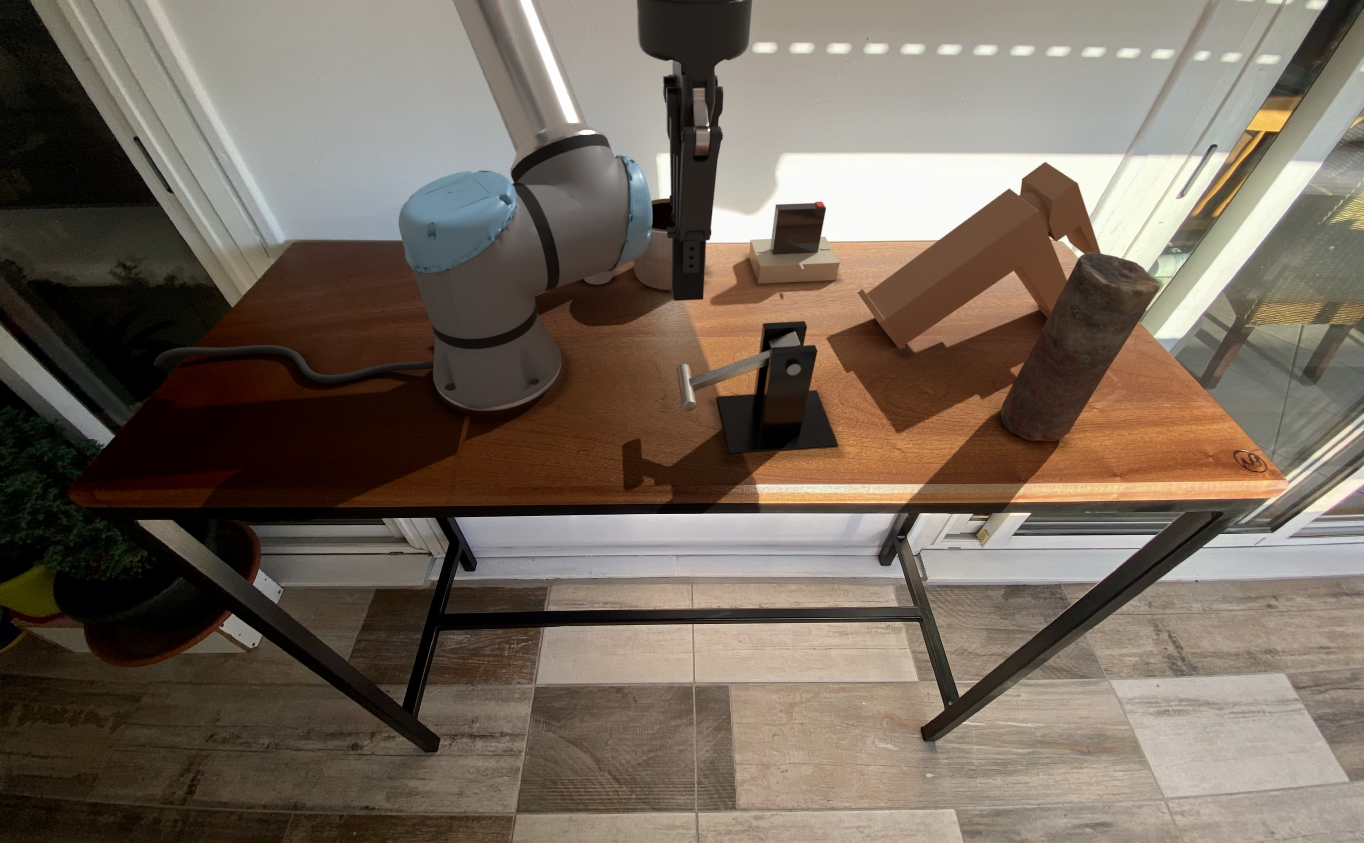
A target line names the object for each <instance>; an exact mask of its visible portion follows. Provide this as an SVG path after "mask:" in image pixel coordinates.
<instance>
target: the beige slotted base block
mask: <svg viewBox="0 0 1364 843" xmlns="http://www.w3.org/2000/svg"><path fill="white" fill-rule="evenodd" d="M771 239H772V238H762V239H761V238H757V239H750V240H749V250H748V258H749V261H750V265H751V267H752V270H753V273H754V276H755V278H756V281H757V283H758V284H759V285H760V284H777V283H778V284H784V283H785V284H786V283H804V282H823V281H837V277H838V272H839V267H840V261H839V258H838V257H837V255H836V253H835V251H834V250H833V249H832V246H831V244H830V243H829V241H828V239H827V237H826V236H821V238H820V244H819V249H818V252H814V253H791V254H772V251H771V249H770V247H771Z"/></svg>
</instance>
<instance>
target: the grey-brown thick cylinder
mask: <svg viewBox="0 0 1364 843" xmlns="http://www.w3.org/2000/svg"><path fill="white" fill-rule="evenodd" d="M1160 289H1161V287H1160V284H1159V282H1158V281H1157V279H1156V278H1154V277H1152V276H1151V274H1150V272H1148V271H1147V270H1146V269H1145V268H1144V267H1143V266H1142V265H1140V264H1139V263H1138V262H1136V261H1133V260H1130V259H1125V258H1122V257H1118V256H1114V255H1111V254H1105V253H1102V252H1101V253H1098V252H1088V253H1085V254H1084V253H1083V254H1081V255H1080V256H1079V257H1078V259H1077V261H1076V262H1075V265H1074V267H1073V269H1072V271H1071V273H1070V275H1069V276H1068V278H1067V283H1066V285H1065V287H1064V289H1063V290H1062V292H1061V294H1060V296H1059V297H1058V300H1057V302H1056V304H1055V306H1054V308H1053V310H1052V312H1051V313H1050V315H1049V317H1048V318H1047V319H1046V321H1045V323H1044V325H1043V327H1042V329H1041V331H1040V333H1039V335H1038V336H1037V338H1036V340H1035V342H1034V344H1033V345H1032V348H1031V349H1030V351H1029V353H1028V355H1027V357H1026V359H1025V361H1024V362H1023V364H1022V366H1021V368H1020V370H1019V372H1018V373H1017V375H1016V377H1015V379H1014V381H1013V383H1012V385H1011V386H1010V389H1009V390H1008V392H1007V395H1006V397H1005V398H1004V401H1003V402H1002V405H1001V409H1000V411H1001V412H1000V413H1001V414H1000V415H1001V423H1002V425H1003V427H1004V428H1006V430H1008V431H1009V432H1010V433H1012V434H1014V435H1017V436H1019V437H1020V438H1022V439H1024V440H1026V441H1033V442H1034V441H1035V442H1036V441H1040V442H1041V441H1042V442H1047V441H1048V442H1057V441H1059V440H1062V439H1063V438H1065V437H1066V436H1067V435H1068V434H1069V433H1070V431H1072V428H1073V427H1074V426H1075V424H1076V422H1077V420H1078V419H1079V417H1080V416H1081V414H1082V412H1083V411H1084V409H1085V408H1086V406H1087V405H1088V403H1089V401H1090V399H1091V398H1092V396H1093V395H1094V393H1095V391H1096V390H1097V388H1098V387H1099V385H1100V383H1101V381H1102V380H1103V378H1104V376H1105V375H1106V373H1107V372H1108V370H1109V369H1110V367H1111V366H1112V364H1113V362H1114V361H1115V359H1116V358H1117V356H1118V355H1119V353H1120V352H1121V350H1122V348H1123V347H1124V346H1125V344H1126V343H1127V340H1129V337H1130V336H1131V334H1132V333H1133V331H1134V329H1135V328H1136V326H1137V325H1138V323H1139V322H1140V320H1141V319H1142V317H1143V316H1144V314H1145V313H1146V310H1147V309H1148V308H1149V306H1150V305H1151V303H1152V301H1153V300H1154V298H1155V297H1156V294H1157V293H1158V292H1159V290H1160Z"/></svg>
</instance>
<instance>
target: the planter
mask: <svg viewBox="0 0 1364 843" xmlns="http://www.w3.org/2000/svg"><path fill="white" fill-rule="evenodd" d="M651 203H652V217H653V220H652V228H651V237H650V240H649V243H648V246H647V248H646V250H645V251H644V253H643V254H642V255H641V256H640V257H639V258H638V259H636V260H634V261H633V270H634V274H635V277H636V278H637V280H638V281H639V282H640V283H642V284H643V285H645V286H647V287H649V288H652V289H655V290H659V291H664V292H665V291H666V292H667V291H668V292H669V291H671V292H672V238H667V227H672V226H676V223H674V222H673V219H672V212H673V206H672V205H671V203H670V197H669V198H668V197H667V198H658V199H651ZM706 265H707V247H706V248H705V270H704V276H705V274H706V269H707V268H706V267H707V266H706Z"/></svg>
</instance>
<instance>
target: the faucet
mask: <svg viewBox="0 0 1364 843" xmlns="http://www.w3.org/2000/svg"><path fill="white" fill-rule="evenodd" d="M1019 192H1020V193H1019V194H1018V193H1016V192H1015V191H1014V190H1012V189H1011V188H1007V189H1006V190H1005V191H1004V192H1002V193H1001V194H999V195H998V196H996V197H995V198H994V199H993V200H991V201H990V202H989V203H987V204H986V205H985V206H983V207H982V208H980V209H979V210H978V211H976V212H975V213H974V214H972V215H971V216H970V217H967V218H966V219H965V220H964V221H963V222H961V223H960V224H959V225H957V226H956V227H955V228H953V229H951V231H949V232H948V233H947V234H945V235H944V236H943V237H941V238H940V239H939V240H937V241H936V242H934V243H933V244H932V245H930V246H929V247H927V248H926V249H924V250H923V251H922V252H921V253H920V254H918V255H917V256H915V257H914V258H912V259H911V260H910V261H909V262H907V263H906V264H904V265H903V266H902V267H900V268H899V269H897V271H895V272H894V273H892V274H891V275H890V276H888V277H887V278H886V279H884V280H883V281H882V282H880V283H879V284H878V285H876V286H875V287H873V288H872V289H871V290H869V291H868V292H866V291H865V290H864V288H862V289H860V290H859V291H858V292H857V294H858V296H859V297H860V298H861V300H862V302H863V303H864V304H865V306H866V307H867V309H869V311H870V313H871V314H872V315H873V317H874V319H875V320H876V321H877V323H878V325H879V326H880V327H881V328H882V329H883V331H884V332H885V333H886V334H887V336H888V337H889V338H890V340H891V341H892V342H893V344H894V345H895V346H896V347H897V348H898V350H900V349H906V348H907V347H906V345H907V344H908V343H910V342H911V341H913V340H914V339H916V338H917V337H919V336H920V335H922V334H923V333H924V332H926V331H927V330H929V329H930V328H933V327H934V326H935V325H936V324H938V323H939V322H941V321H942V320H944V319H945V318H946V317H948V316H950V315H951V314H952V313H954V312H955V311H957V310H958V309H960V308H961V307H963V306H965V305H966V304H967V303H969V302H971V301H972V300H973V299H975V298H976V297H978V296H979V295H981V294H982V293H983V292H985V291H986V290H988V289H989V288H991V287H992V286H994V285H995V284H997V283H998V282H999V281H1001V280H1002V279H1004V278H1006V277H1008V276H1009V275H1010V274H1011V273H1013V272H1014V273H1015V275H1016V277H1017V278H1018V279H1019V280H1020V282H1021V283H1022V284H1023V286H1024V287H1025V289H1026V290H1027V292H1028V293H1029V295H1030V296H1031V298H1032V299H1033V301H1034V302H1035V303H1036V305H1037V308H1038V309H1039V311H1040V312H1041V313H1042V314H1043V315H1044V317H1046V318H1047V319H1048V317H1049V315H1050V313H1051V312H1052V310H1053V308H1054V306H1055V304H1056V302H1057V300H1058V297H1059V296H1060V294H1061V292H1062V290H1063V289H1064V287H1065V285H1066V283H1067V280H1068V278H1067V276H1066V275H1065V272H1064V268H1063V267H1062V265H1061V262H1060V260H1059V257H1058V255H1057V253H1056V250H1055V249H1056V248H1055V247H1054V245H1053V242H1052V240H1053V241H1054V242H1058V241H1060V240H1061V239H1063V238H1064V237H1065V236H1066V238H1067V240H1068V243H1069V244H1071V245H1072V246H1073V247H1075V248H1076V249H1077V250H1079V251H1080V252H1081V253H1083V254H1085V253H1088V252H1098V253H1101V254H1102V252H1101V249H1100V247H1099V243H1098V240H1097V236H1096V234H1095V231H1094V228H1093V224H1092V222H1091V219H1090V216H1089V212H1088V210H1087V207H1086V204H1085V201H1084V198H1083V195H1082V191H1081V189H1080V186H1079V183H1078V182H1077V181H1075V180H1074V179H1072V178H1071V177H1069V176H1068V175H1066V174H1065V173H1063V172H1062V171H1060V170H1058V169H1057V168H1055V167H1054V166H1053V165H1051V164H1049V163H1048V162H1047V161H1044V162H1042V163H1041V164H1040V165H1038V166H1037V167H1036V168H1034V169H1033V170H1032V171H1030V172H1029V173H1027V175H1025V176H1023V177H1022V179H1021V185H1020V191H1019ZM1051 239H1052V240H1051Z"/></svg>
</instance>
